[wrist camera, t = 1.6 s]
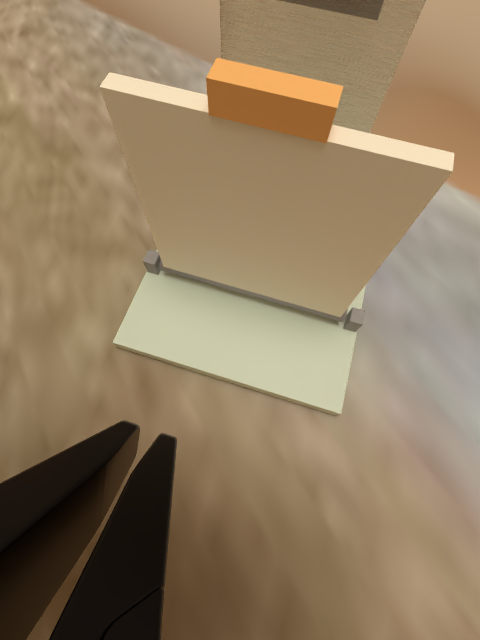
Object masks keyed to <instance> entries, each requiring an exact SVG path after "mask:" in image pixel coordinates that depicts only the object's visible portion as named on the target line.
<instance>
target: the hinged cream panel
mask: <svg viewBox="0 0 480 640" xmlns="http://www.w3.org/2000/svg"><path fill="white" fill-rule="evenodd" d="M206 82H207V95H204V94H200V93H196V92H191V91H187V90H183V89H179V88H174V87H170V86H166V85H162V84H157V83H153V82H149V81H145V80H140V79H136V78H132V77H128V76H123V75H119V74H115V73H111V72H110V73H109V74H108V75H107V77H106V78H105V80H104V81H103V82H102V84H101V85H100V89H101V92H102V95H103V98H104V101H105V103H106V106H107V109H108V112H109V115H110V118H111V120H112V123H113V126H114V129H115V132H116V134H117V137H118V140H119V143H120V146H121V148H122V151H123V154H124V157H125V160H126V163H127V165H128V168H129V171H130V174H131V177H132V179H133V182H134V185H135V188H136V191H137V193H138V196H139V199H140V202H141V205H142V208H143V210H144V213H145V216H146V219H147V222H148V224H149V227H150V230H151V233H152V236H153V238H154V241H155V244H156V247H157V250H158V253H159V255H160V258H161V260H160V264H159V269H160V270H162V271H166V272H169V273H173V274H176V275H180V276H183V277H186V278H190V279H193V280H197V281H200V282H204V283H207V284H211V285H214V286H218V287H221V288H225V289H228V290H232V291H235V292H239V293H242V294H245V295H249V296H252V297H256V298H259V299H263V300H266V301H270V302H273V303H277V304H280V305H284V306H287V307H291V308H294V309H298V310H301V311H304V312H308V313H311V314H315V315H318V316H322V317H325V318H329V319H332V320H336V321H339V322H344V320H345V318H346V315H347V311H348V307H349V306H350V304H351V303H352V302H353V300H354V299H355V298H356V297H357V295H358V294H359V293H360V291H361V290H362V289H363V287H364V286H365V285H366V284H367V282H368V281H369V280H370V278H371V277H372V276H373V274H374V273H375V272H376V271H377V269H378V268H379V267H380V265H381V264H382V263H383V261H384V260H385V259H386V258H387V256H388V255H389V254H390V252H391V251H392V250H393V248H394V247H395V246H396V245H397V243H398V242H399V241H400V239H401V238H402V237H403V235H404V234H405V233H406V232H407V230H408V229H409V228H410V226H411V225H412V224H413V222H414V221H415V220H416V218H417V217H418V216H419V215H420V213H421V212H422V211H423V209H424V208H425V207H426V205H427V204H428V203H429V202H430V200H431V199H432V198H433V196H434V195H435V194H436V192H437V191H438V190H439V189H440V187H441V186H442V185H443V183H444V182H445V181H446V179H447V178H448V177H449V176H450V174H451V173H452V171H453V163H454V153H451V152H447V151H443V150H438V149H434V148H430V147H426V146H421V145H417V144H413V143H408V142H404V141H400V140H396V139H392V138H387V137H383V136H378V135H374V134H370V133H366V132H362V131H357V130H353V129H349V128H345V127H340V126H336V125H332V124H333V120H334V117H335V114H336V110H337V107H338V104H339V100H340V97H341V93H342V90H343V86H341V85H337V84H332V83H328V82H323V81H319V80H314V79H310V78H305V77H301V76H296V75H292V74H288V73H283V72H279V71H274V70H270V69H265V68H261V67H256V66H252V65H247V64H243V63H238V62H234V61H229V60H225V59H220V58H217V59H216V60H215V62H214V64H213V66H212V68H211V70H210V72H209V74H208V75H207V77H206Z"/></svg>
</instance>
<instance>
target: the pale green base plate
mask: <svg viewBox="0 0 480 640" xmlns="http://www.w3.org/2000/svg"><path fill="white" fill-rule="evenodd" d="M160 260H161V258H160V255H159V253H158V250H157V251H153V250H148V252H147V254H146V256H145V258H144V260H143V263H144V265H145V267H146V269H147V272H146V274H145V276H144V278H143V280H142V282H141V284H140V286H139V288H138V291H137V293H136V295H135V297H134V299H133V301H132V303H131V305H130V307H129V309H128V312H127V314H126V316H125V318H124V320H123V322H122V324H121V326H120V328H119V330H118V333H117V335H116V337H115V339H114V341H113V343H114V344H115V345H116V346H117V347H118V348H122V349H125V350H128V351H131V352H134V353H137V354H141V355H144V356H147V357H150V358H153V359H157V360H160V361H163V362H166V363H169V364H173V365H176V366H179V367H182V368H185V369H188V370H192V371H195V372H198V373H201V374H204V375H208V376H211V377H214V378H217V379H220V380H223V381H227V382H230V383H233V384H236V385H239V386H243V387H246V388H249V389H252V390H255V391H258V392H262V393H265V394H268V395H271V396H274V397H278V398H281V399H284V400H287V401H290V402H293V403H297V404H300V405H303V406H306V407H309V408H313V409H316V410H319V411H322V412H325V413H328V414H332V415H335V416H337V415H340V414H341V411H342V406H343V401H344V396H345V391H346V385H347V380H348V375H349V370H350V364H351V359H352V354H353V349H354V344H355V338H356V333H357V330H358V329H359V328H360V327H361V326H362V325H363V320H364V314H365V310H361V307H362V302H363V297H364V291H365V286H366V285H365V286H364V287H363V289H362V290H361V291H360V293H359V294H358V295H357V297H356V298H355V299H354V300H353V302H352V303H351V304H350V306H349V307H348V311H347V315H346V318H345V320H344V322H339V321H336V320H332V319H329V318H325V317H322V316H318V315H315V314H311V313H308V312H304V311H301V310H298V309H294V308H291V307H287V306H284V305H280V304H277V303H273V302H270V301H266V300H263V299H259V298H256V297H252V296H249V295H245V294H242V293H239V292H235V291H232V290H228V289H225V288H221V287H218V286H214V285H211V284H207V283H204V282H200V281H197V280H193V279H190V278H186V277H183V276H180V275H176V274H173V273H169V272H166V271H162V270H160V269H159V264H160Z"/></svg>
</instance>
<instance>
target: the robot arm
mask: <svg viewBox="0 0 480 640" xmlns="http://www.w3.org/2000/svg"><path fill="white" fill-rule="evenodd" d="M139 433H140V427H139V425H137V424H134V423H131V422H128V421H121V422H119V423H117V424H115V425H113V426H111V427H109V428H107V429H105V430H103V431H101V432H99V433H97V434H95V435H93V436H91V437H89V438H87V439H86V440H84V441H82V442H80V443H78V444H76V445H74V446H72V447H70V448H68V449H66V450H64V451H62V452H60V453H58V454H56V455H54V456H52V457H50V458H49V459H47V460H45V461H43V462H41V463H39V464H37V465H35V466H33V467H31V468H29V469H27V470H25V471H23V472H21V473H19V474H17V475H15V476H13V477H12V478H10V479H8V480H6V481H4V482H2V483H0V640H26V639H27V637H28V635H29V634H30V632H31V631H32V629H33V628H34V626H35V625H36V623H37V622H38V620H39V619H40V617H41V615H42V614H43V612H44V611H45V609H46V608H47V606H48V605H49V603H50V602H51V600H52V599H53V597H54V595H55V594H56V592H57V591H58V589H59V588H60V586H61V585H62V583H63V582H64V580H65V579H66V577H67V576H68V574H69V572H70V571H71V569H72V568H73V566H74V565H75V563H76V562H77V560H78V559H79V557H80V556H81V554H82V552H83V551H84V549H85V548H86V546H87V545H88V543H89V542H90V540H91V539H92V537H93V536H94V534H95V532H96V531H97V529H98V528H99V526H100V524H101V523H102V521H103V519H104V517H105V515H106V513H107V511H108V509H109V507H110V506H111V504H112V502H113V500H114V498H115V496H116V494H117V492H118V490H119V488H120V486H121V484H122V482H123V480H124V478H125V477H126V475H127V473H128V471H129V469H130V467H131V465H132V463H133V461H134V459H135V456H136V453H137V447H138V440H139ZM176 446H177V438H176V437H173V436H170V435H167V434H164V433H161V434H160V435H159V436H158V437H157V438H156V440H155V441H154V442H153V444H152V445H151V447H150V448H149V449H148V451H147V452H146V453H145V455H144V456H143V458H142V459H141V460H140V462H139V463H138V464H137V466H136V467H135V469H134V470H133V472H132V474H131V475H130V477H129V479H128V481H127V483H126V485H125V487H124V489H123V491H122V493H121V495H120V497H119V499H118V501H117V503H116V505H115V507H114V509H113V511H112V513H111V515H110V517H109V519H108V521H107V523H106V525H105V527H104V530H103V532H102V534H101V536H100V538H99V540H98V542H97V544H96V546H95V548H94V550H93V552H92V554H91V556H90V558H89V560H88V562H87V564H86V566H85V568H84V570H83V572H82V574H81V576H80V578H79V580H78V582H77V584H76V586H75V588H74V590H73V592H72V594H71V596H70V598H69V600H68V602H67V604H66V606H65V608H64V610H63V612H62V614H61V616H60V618H59V620H58V622H57V624H56V626H55V628H54V630H53V632H52V634H51V636H50V638H49V640H161V628H162V612H163V600H164V585H165V574H166V563H167V551H168V540H169V528H170V516H171V505H172V493H173V481H174V470H175V458H176Z"/></svg>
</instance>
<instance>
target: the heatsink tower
mask: <svg viewBox="0 0 480 640" xmlns="http://www.w3.org/2000/svg"><path fill="white" fill-rule="evenodd" d="M425 1H426V0H220V28H221V59H225V60H229V61H234V62H238V63H243V64H247V65H252V66H256V67H261V68H265V69H270V70H274V71H279V72H283V73H288V74H292V75H296V76H301V77H305V78H310V79H314V80H319V81H323V82H328V83H332V84H337V85H341V86H343V90H342V93H341V97H340V100H339V104H338V107H337V110H336V114H335V117H334V120H333V124H332V125H336V126H340V127H345V128H349V129H353V130H357V131H362V132H366V133H370V131H371V129H372V126H373V124H374V122H375V119H376V116H377V114H378V112H379V110H380V107H381V105H382V103H383V100H384V98H385V95H386V93H387V91H388V88H389V86H390V84H391V81H392V79H393V76H394V74H395V72H396V70H397V67H398V65H399V62H400V60H401V58H402V55H403V53H404V51H405V48H406V46H407V44H408V41H409V39H410V36H411V34H412V31H413V29H414V27H415V24H416V22H417V20H418V18H419V15H420V13H421V10H422V8H423V6H424V3H425Z"/></svg>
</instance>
